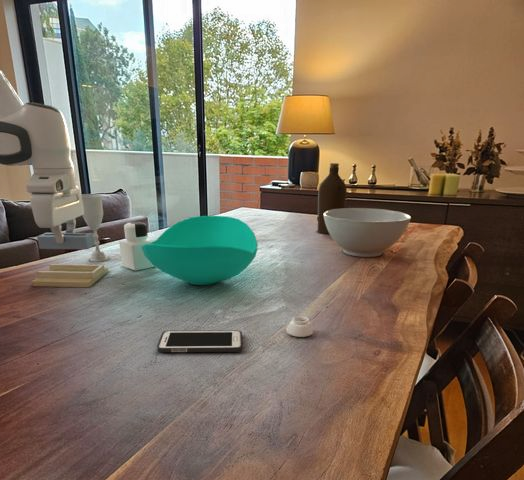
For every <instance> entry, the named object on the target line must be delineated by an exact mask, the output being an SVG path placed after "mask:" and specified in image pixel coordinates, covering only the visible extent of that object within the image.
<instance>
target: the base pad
mask: <svg viewBox="0 0 524 480" xmlns="http://www.w3.org/2000/svg"><path fill="white" fill-rule="evenodd" d="M48 266H49V270H37V271H36V276H37V277H36V278H35V279H33V280H31V286H32V287H56V288H57V287H60V288H61V287H62V288H65V287H66V288H90V287H91V286H93V285H94V284H95V283H96V282H98V281H99V280H100V279H101V278H102V277H103V276H105V275H106V274H107V273H108V272H109V269H108V266H107V267H106V266H105V264H79V263H78V264H77V263H76V264H75V263H74V264H73V263H72V264H71V263H70V264H69V263H50V264H48Z"/></svg>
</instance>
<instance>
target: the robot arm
mask: <svg viewBox="0 0 524 480" xmlns="http://www.w3.org/2000/svg"><path fill="white" fill-rule="evenodd" d="M70 141H71V140H70V136H69V131H68V127H67V123H66V119H65V117H64V115H63V113H62V112H61V110H59V109H58V108H57V107H56V106H52V105H48V104H44V103H37V102H26V103H23V101H22V100H21V98H20V96H19V95H18V93H17V92H16V91H15V89H14V87H13V86H12V84H11V83H10V80H9V79H8V78H7V76H6V75H5V73H4V72H3V71H2V69H1V68H0V165H2V166H3V165H4V166H8V167H16V166H18V167H19V166H20V167H21V166H32V171H33V173H32V175H31V177H30V178H29V179H28V180H27V181H26V183H25V188H26V192H27V193H29V194H30V196H29V200H30V201H29V202H30V207H31V211H32V215H33V218H34V222H35V224H36V226H37V227H38V228H39V229H40V228H41V229H50V231H51V233H53V234H54V236H55V240H56V243H63V242H65V235H63V233H64V232H63V231H62V229H63V226H62V224H66V230H65V233H76V224H77V220H76V218H79V217H82V215H83V214H84V206H83V201H82V197H81V195H82V193H81V190H80V188H79V186H77V180H76V173H75V167H74V163H73V161H72V158H71V142H70Z"/></svg>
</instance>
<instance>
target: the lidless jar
mask: <svg viewBox="0 0 524 480" xmlns="http://www.w3.org/2000/svg"><path fill="white" fill-rule="evenodd" d="M286 333H287V334H288V335H290V336H291V337H292V336H293V337H296V338H305V337H309V336H311V335H313V333H314V328H313V326H312V324H311V322H310V321H309V318H308V317H307V316H303V315H297V316H293V317H292V319H291V321H290V322H289V323H288V325H287V327H286Z"/></svg>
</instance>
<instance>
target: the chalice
mask: <svg viewBox="0 0 524 480" xmlns="http://www.w3.org/2000/svg"><path fill="white" fill-rule="evenodd" d="M81 197H82V201H83V206H84V214H83V215H81V217H82V218H83V220H84V222H85V224H86V226H87V227H88V228H89V229H90V230H92V233H93V236H94V243H95V245H94V246H95V249H94V251H92V253H91V256H90V259H89V260H90V262H104V261H107V260H109V258H108V257H107V255H106V253H105V252H104V251H103V250H101V248H100V243H101V242H100V241H99V235H98V230H99V229H100V228H101V225H102V222H103V218H104V209H103V208H104V207H103V200H102V199H103V197H104V196H103V195H102V194H81Z"/></svg>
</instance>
